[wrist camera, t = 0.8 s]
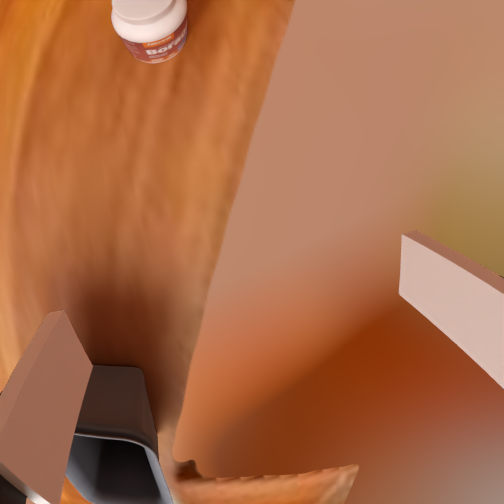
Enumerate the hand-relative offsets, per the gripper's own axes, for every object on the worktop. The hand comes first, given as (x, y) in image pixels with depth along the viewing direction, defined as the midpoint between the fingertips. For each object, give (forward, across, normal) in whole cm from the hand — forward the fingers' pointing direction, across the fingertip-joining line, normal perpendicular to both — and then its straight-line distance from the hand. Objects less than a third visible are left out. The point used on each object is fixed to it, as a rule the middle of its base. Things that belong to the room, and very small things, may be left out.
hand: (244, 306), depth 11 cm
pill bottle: (+23, -2, +18) cm, 29 cm away
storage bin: (+23, -20, -27) cm, 41 cm away
